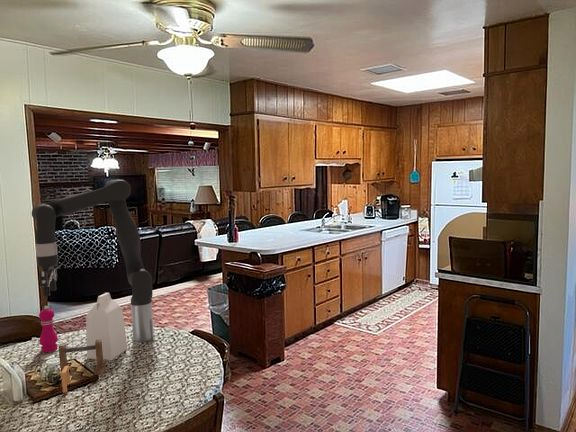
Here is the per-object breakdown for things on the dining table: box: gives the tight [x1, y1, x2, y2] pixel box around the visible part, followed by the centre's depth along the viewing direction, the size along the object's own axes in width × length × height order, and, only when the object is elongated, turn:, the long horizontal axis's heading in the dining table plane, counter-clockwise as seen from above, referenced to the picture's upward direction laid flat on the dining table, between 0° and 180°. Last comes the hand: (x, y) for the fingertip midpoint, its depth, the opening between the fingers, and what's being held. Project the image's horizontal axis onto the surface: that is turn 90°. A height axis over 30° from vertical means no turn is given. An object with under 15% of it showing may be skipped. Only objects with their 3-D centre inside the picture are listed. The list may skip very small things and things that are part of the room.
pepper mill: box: [38, 305, 59, 353], centre depth 194 cm, size 7×7×20 cm
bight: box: [61, 365, 71, 394], centre depth 157 cm, size 1×6×7 cm, turn 15°
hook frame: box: [58, 339, 107, 376], centre depth 170 cm, size 16×10×12 cm, turn 105°
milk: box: [85, 292, 129, 361], centre depth 188 cm, size 12×12×26 cm
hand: (50, 293), depth 178 cm, fingers open, 8 cm apart
